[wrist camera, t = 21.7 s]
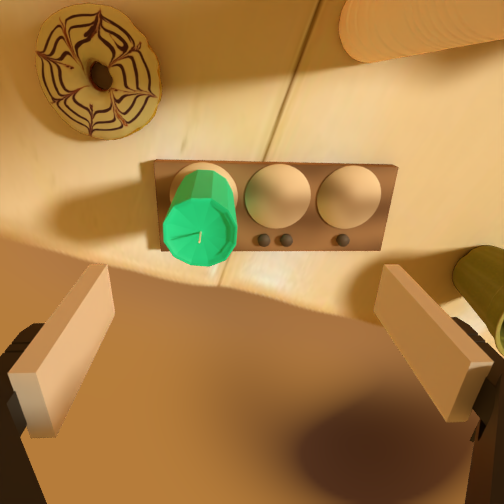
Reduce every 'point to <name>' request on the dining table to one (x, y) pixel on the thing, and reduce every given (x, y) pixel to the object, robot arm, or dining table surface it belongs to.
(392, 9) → the water bottle
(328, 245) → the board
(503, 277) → the plant pot
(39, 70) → the decorated donut
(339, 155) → the dining table surface
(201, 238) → the candle
